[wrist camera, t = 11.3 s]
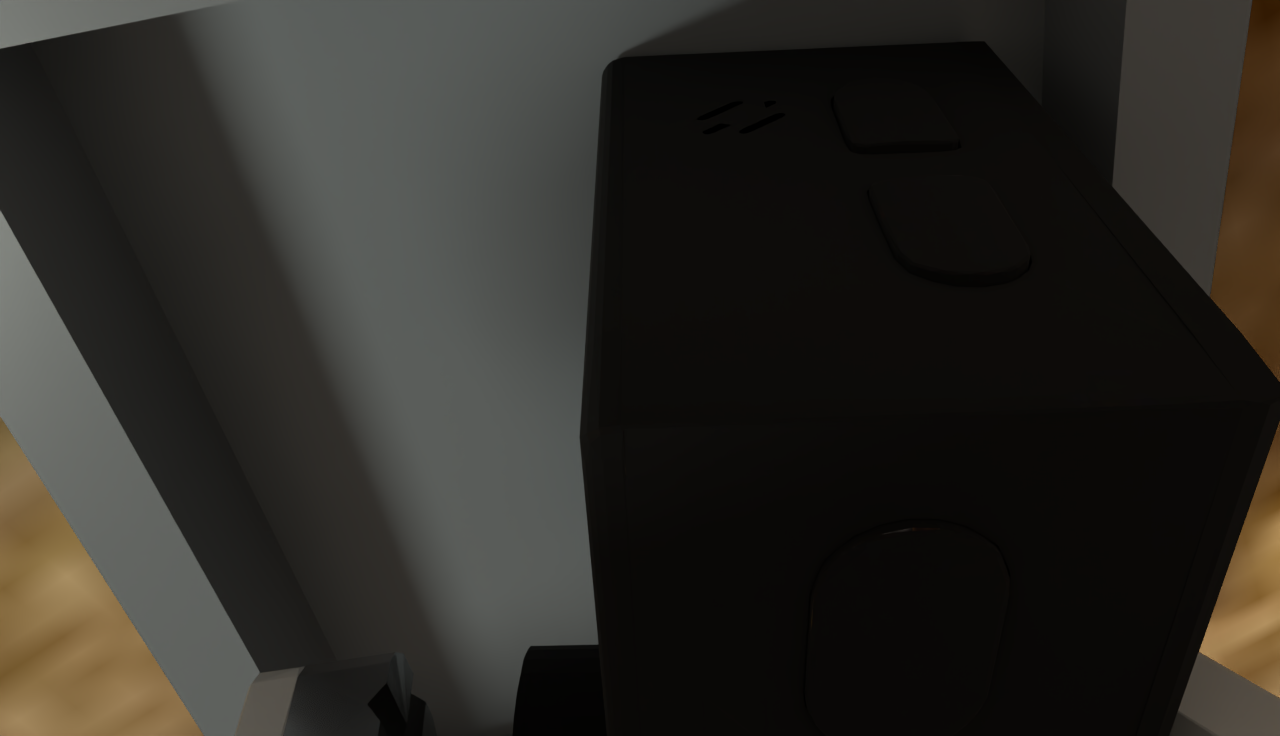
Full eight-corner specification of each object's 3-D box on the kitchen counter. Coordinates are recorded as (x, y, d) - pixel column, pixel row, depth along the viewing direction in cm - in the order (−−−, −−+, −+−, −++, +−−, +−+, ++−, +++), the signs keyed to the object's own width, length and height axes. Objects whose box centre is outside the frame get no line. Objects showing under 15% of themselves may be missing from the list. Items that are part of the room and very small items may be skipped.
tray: (-139, -105, 11) (-294, -45, 9) (1160, -373, 11) (1305, -376, 9) (343, 782, 20) (319, 916, 18) (1077, 661, 19) (1140, 784, 17)
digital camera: (495, 48, 12) (373, 431, 6) (984, 27, 12) (1308, 393, 6) (567, 672, 18) (539, 1166, 12) (898, 661, 18) (1026, 1154, 12)
